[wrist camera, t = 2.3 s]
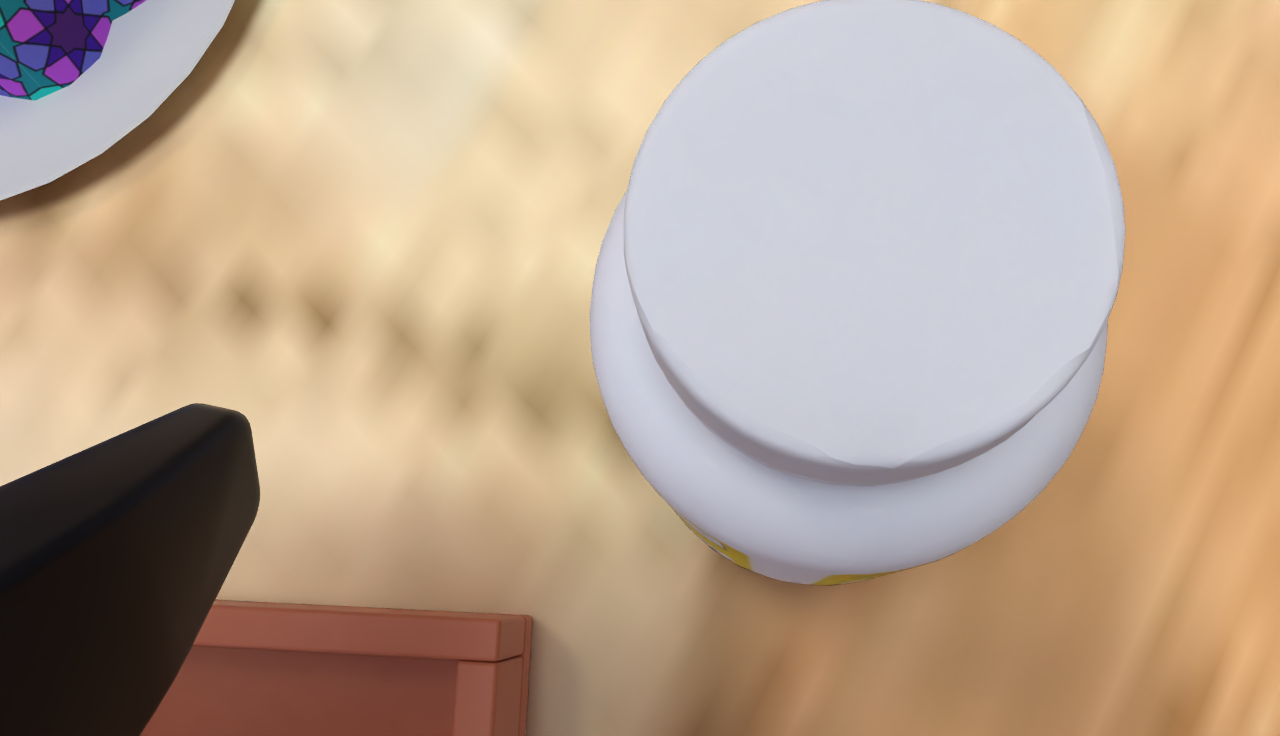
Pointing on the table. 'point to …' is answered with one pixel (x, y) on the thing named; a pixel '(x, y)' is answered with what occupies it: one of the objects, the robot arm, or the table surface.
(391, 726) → the terracotta tray
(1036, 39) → the table surface
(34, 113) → the pudding
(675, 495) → the supplement bottle
